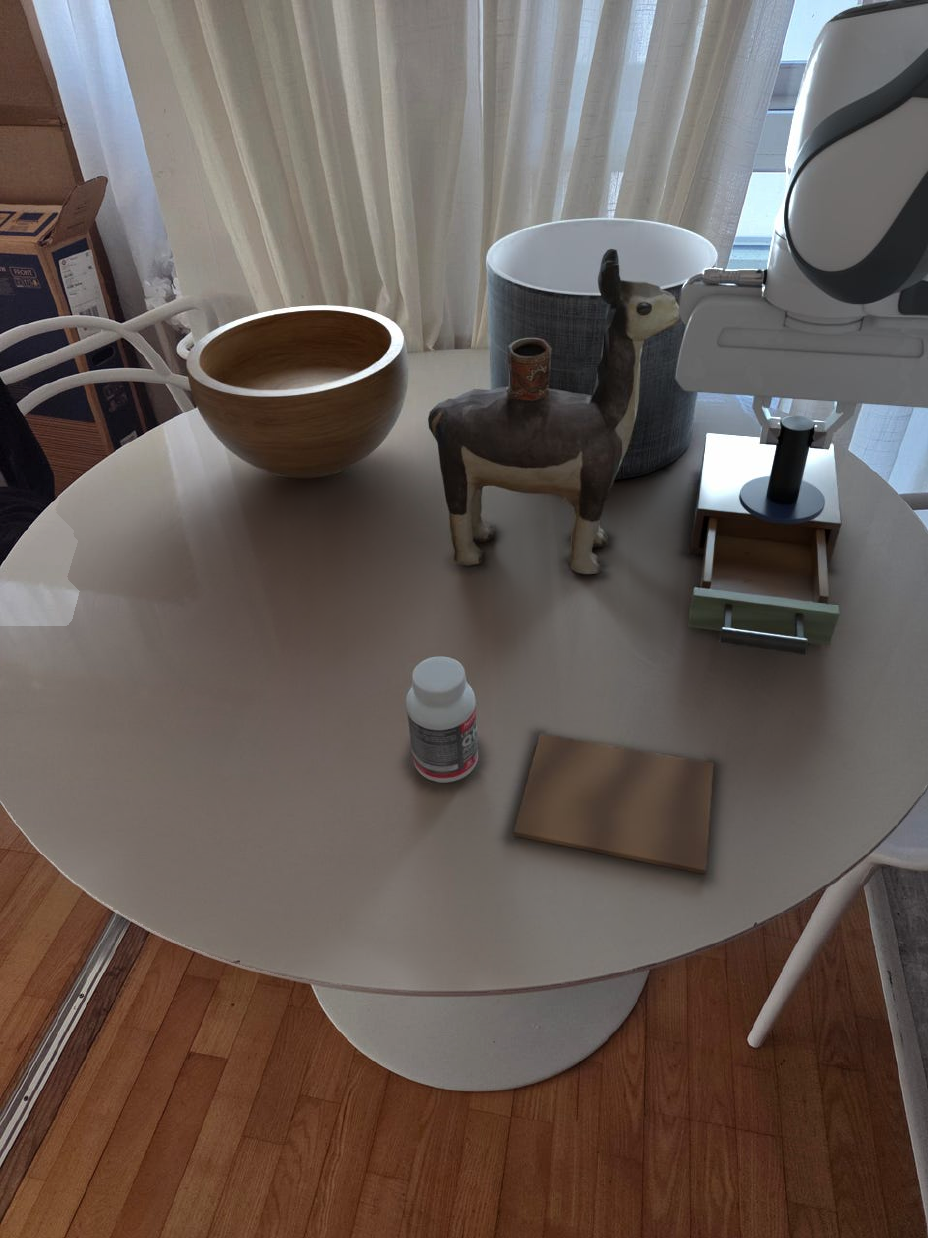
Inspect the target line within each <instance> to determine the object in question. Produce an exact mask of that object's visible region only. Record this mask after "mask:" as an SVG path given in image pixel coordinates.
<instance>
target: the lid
mask: <svg viewBox="0 0 928 1238" xmlns="http://www.w3.org/2000/svg"><path fill="white" fill-rule="evenodd" d="M814 427H815V423H814V420H812V419H811V418H809V417H808V416H807V417H806V416H804V415H803V416H802V415H788V416H786V417H783V418H781V432H780V436H779V441H778V445H776V449H775V454H774V459H773V464H772V469H771V474H770V476H762V477H758V478H755V479H752V480H750V481H748V482H747V483H745V484H744V485H743V487H742V488H741V490H740V495H739V500H740V503H741V505H742V506H743V508H744V509H745V510H746V511H747V512H749V513H750V514H752V515H754V516H755V517H758V518H760V519H763V520H766V521H769V522H774V523H780V524H798V523H804V522H807V521H810V520H813V519H815V518H816V517H818V516H819V515H820V514H821V513H822V511H823V509H824V505H825V499H824V496H823V494H822V493H821V491H820V490H819V489H817V488H816V487H815V486H813V485H812V484H810V483H808V482H806V481H803V480H802V479H803V474H804V470H805V466H806V461H807V457H808V453H809V448H810V444H811V439H812V436H813V431H814Z"/></svg>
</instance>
